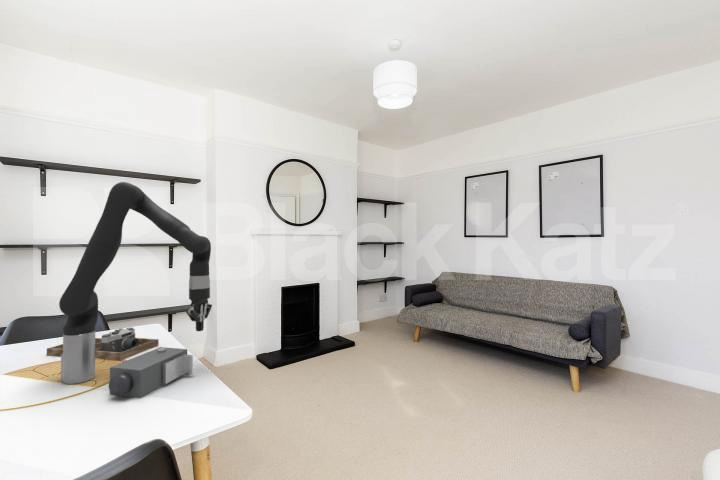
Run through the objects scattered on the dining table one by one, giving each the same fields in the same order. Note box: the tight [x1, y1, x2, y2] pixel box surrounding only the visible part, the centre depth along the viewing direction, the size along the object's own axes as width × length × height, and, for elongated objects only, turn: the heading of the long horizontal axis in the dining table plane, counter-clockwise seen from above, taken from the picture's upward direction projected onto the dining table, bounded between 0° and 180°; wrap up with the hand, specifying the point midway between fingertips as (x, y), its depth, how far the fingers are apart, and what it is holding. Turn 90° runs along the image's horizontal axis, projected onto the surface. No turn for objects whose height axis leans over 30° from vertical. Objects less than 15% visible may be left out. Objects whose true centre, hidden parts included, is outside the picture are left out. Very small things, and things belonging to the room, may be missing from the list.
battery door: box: [163, 354, 194, 385], centre depth 126 cm, size 4×10×7 cm, turn 168°
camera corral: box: [95, 337, 160, 361], centre depth 159 cm, size 15×21×3 cm
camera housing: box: [108, 346, 188, 399], centre depth 123 cm, size 12×25×10 cm, turn 168°
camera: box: [101, 326, 140, 353], centre depth 159 cm, size 16×10×10 cm, turn 168°
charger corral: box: [46, 337, 101, 358], centre depth 160 cm, size 15×18×3 cm
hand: (199, 330), depth 136 cm, fingers closed
